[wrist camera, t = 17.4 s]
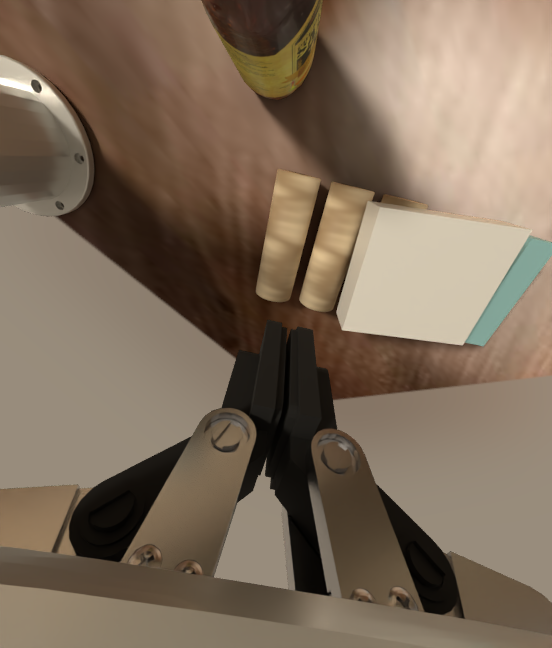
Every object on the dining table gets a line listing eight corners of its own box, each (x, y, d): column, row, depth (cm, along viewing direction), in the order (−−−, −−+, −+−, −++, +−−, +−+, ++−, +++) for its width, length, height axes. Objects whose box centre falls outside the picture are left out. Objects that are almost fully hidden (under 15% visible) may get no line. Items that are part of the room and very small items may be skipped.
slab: (336, 312, 29) (342, 329, 26) (367, 200, 23) (380, 207, 20) (444, 326, 30) (462, 345, 27) (501, 220, 24) (532, 229, 21)
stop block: (439, 318, 33) (461, 341, 29) (495, 226, 28) (532, 238, 23) (459, 322, 33) (483, 346, 29) (518, 231, 28) (559, 244, 23)
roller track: (257, 282, 32) (253, 297, 29) (278, 168, 26) (276, 169, 23) (433, 320, 33) (448, 339, 30) (493, 219, 27) (521, 228, 24)
